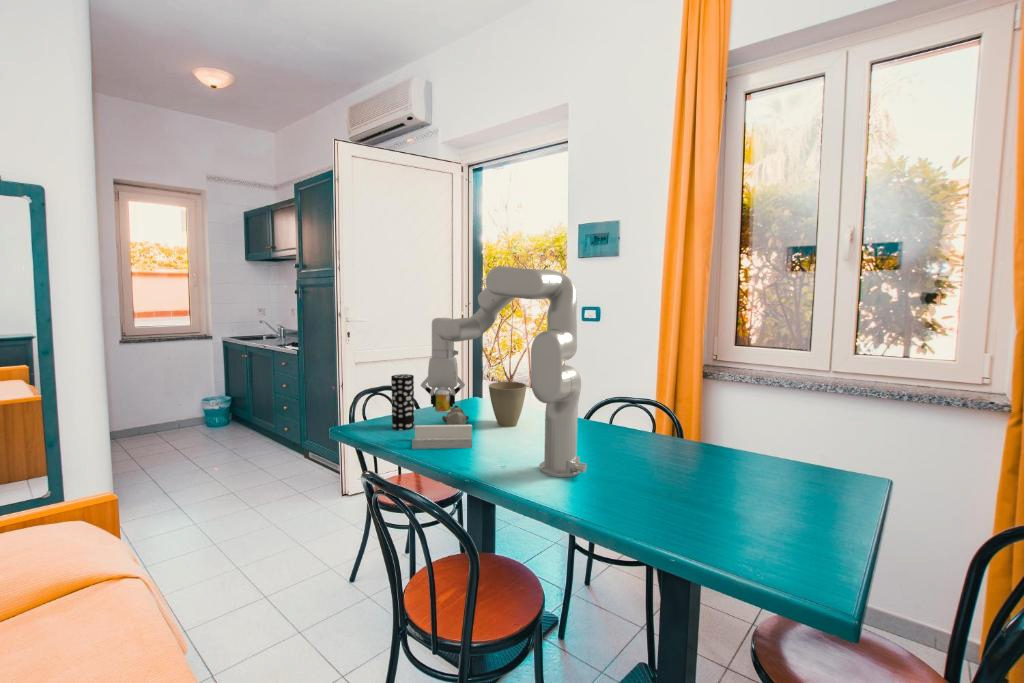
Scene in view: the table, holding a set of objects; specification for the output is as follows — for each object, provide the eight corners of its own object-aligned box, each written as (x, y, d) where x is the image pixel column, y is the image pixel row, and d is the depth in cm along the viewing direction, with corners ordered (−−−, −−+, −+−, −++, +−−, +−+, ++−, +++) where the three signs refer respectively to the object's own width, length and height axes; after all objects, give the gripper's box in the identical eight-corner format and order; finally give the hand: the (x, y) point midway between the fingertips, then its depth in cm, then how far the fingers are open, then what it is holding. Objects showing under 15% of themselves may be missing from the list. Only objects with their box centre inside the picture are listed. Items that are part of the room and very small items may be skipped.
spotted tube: (411, 430, 189) (411, 378, 187) (389, 430, 189) (388, 378, 187) (416, 424, 198) (415, 374, 195) (395, 424, 198) (394, 374, 195)
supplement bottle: (431, 411, 173) (431, 383, 171) (441, 408, 177) (441, 381, 176) (443, 414, 170) (443, 385, 169) (454, 410, 174) (453, 383, 173)
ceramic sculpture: (442, 409, 187) (441, 402, 202) (442, 432, 188) (441, 423, 203) (471, 408, 189) (468, 401, 204) (471, 431, 189) (468, 422, 204)
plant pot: (487, 419, 206) (487, 381, 204) (523, 419, 207) (523, 381, 206) (489, 430, 191) (489, 389, 189) (528, 429, 193) (529, 388, 191)
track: (471, 438, 181) (472, 424, 180) (472, 447, 170) (472, 433, 170) (415, 439, 179) (415, 425, 179) (412, 448, 168) (412, 434, 168)
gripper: (468, 352, 176) (467, 403, 178) (418, 352, 174) (418, 403, 176) (468, 355, 168) (467, 408, 170) (416, 355, 167) (416, 409, 169)
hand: (442, 405), depth 173 cm, fingers closed on supplement bottle, 5 cm apart
